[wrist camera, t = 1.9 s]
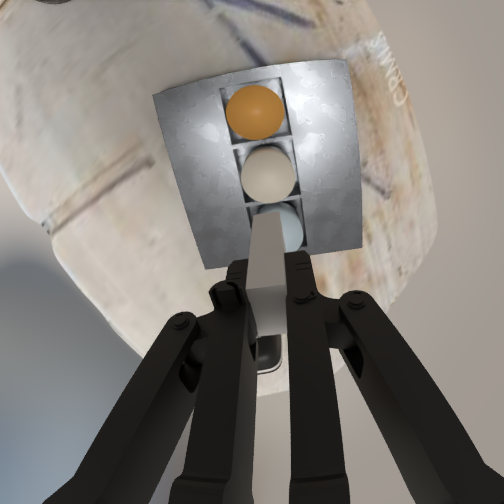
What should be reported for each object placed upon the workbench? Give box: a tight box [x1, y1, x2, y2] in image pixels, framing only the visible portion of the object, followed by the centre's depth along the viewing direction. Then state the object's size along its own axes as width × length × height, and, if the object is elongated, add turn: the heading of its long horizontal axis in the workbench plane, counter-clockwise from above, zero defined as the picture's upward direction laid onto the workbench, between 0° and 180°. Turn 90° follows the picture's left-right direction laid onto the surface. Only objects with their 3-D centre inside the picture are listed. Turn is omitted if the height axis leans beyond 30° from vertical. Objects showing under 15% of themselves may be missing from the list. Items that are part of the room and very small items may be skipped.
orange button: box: [226, 85, 284, 140], centre depth 23 cm, size 5×5×3 cm
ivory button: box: [241, 146, 295, 203], centre depth 26 cm, size 5×5×3 cm
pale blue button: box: [257, 202, 303, 252], centre depth 29 cm, size 5×5×3 cm
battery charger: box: [256, 332, 282, 375], centre depth 34 cm, size 7×4×11 cm, turn 107°
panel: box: [152, 59, 362, 270], centre depth 27 cm, size 20×18×3 cm
